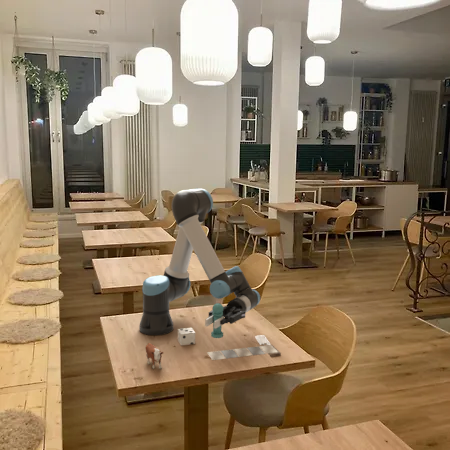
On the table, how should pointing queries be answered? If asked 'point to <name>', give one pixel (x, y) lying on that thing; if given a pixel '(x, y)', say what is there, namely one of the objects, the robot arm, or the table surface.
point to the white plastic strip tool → (262, 340)
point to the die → (186, 336)
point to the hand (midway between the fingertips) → (210, 323)
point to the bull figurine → (153, 355)
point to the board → (245, 352)
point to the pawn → (217, 314)
